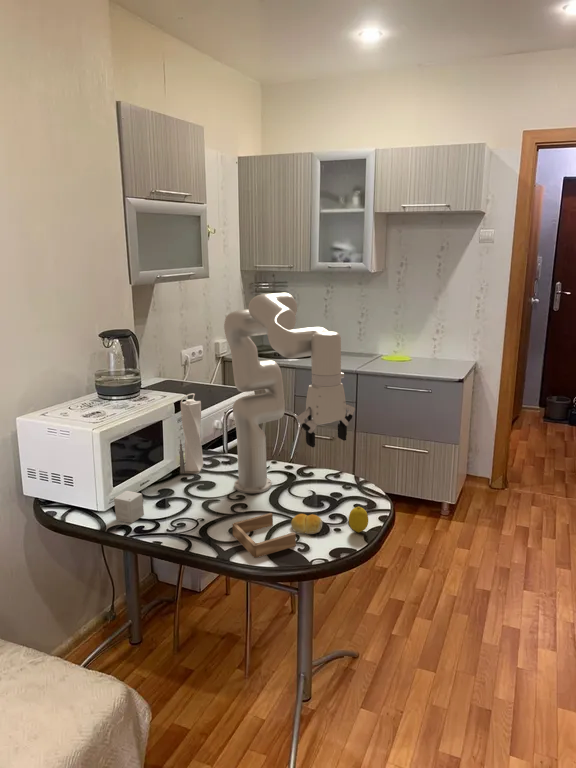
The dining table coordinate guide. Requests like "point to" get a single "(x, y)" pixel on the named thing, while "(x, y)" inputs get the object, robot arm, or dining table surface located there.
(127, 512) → the product box
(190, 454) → the skyscraper
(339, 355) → the robot arm
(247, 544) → the bay
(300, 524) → the bread roll
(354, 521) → the lemon
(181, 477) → the dining table surface
